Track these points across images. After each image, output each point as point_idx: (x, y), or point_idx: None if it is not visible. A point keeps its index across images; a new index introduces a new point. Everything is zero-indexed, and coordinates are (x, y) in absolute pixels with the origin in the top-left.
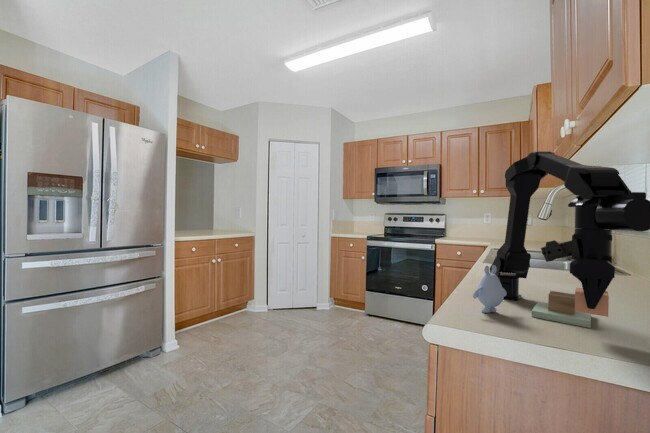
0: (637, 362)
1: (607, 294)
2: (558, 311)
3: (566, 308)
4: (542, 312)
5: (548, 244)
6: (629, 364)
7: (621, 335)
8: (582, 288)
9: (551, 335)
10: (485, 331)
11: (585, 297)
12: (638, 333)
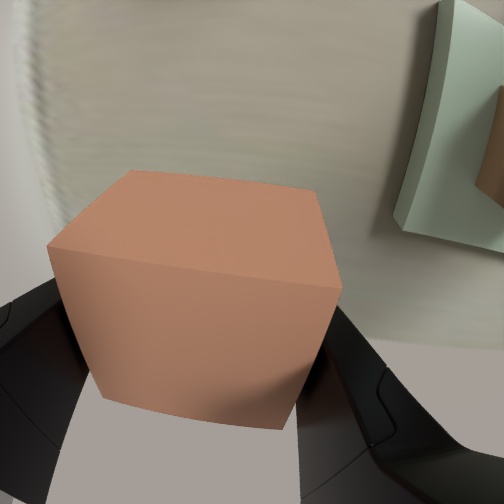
0: None
1: (154, 409)
2: (493, 126)
3: (498, 165)
4: (449, 39)
5: None
6: None
7: (345, 291)
8: (311, 333)
9: (157, 51)
10: None
11: (49, 283)
12: (391, 331)
